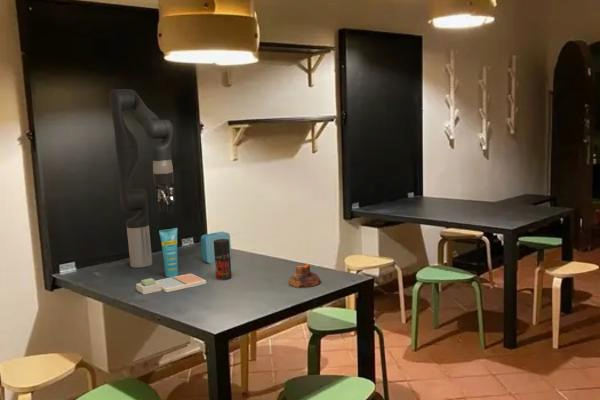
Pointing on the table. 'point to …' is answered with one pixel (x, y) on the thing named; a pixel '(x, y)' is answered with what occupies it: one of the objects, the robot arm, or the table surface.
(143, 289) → the button frame
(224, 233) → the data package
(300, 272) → the bell
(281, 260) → the table surface
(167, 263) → the tube
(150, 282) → the button
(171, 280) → the picture card
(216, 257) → the deodorant
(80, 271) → the table surface
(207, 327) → the table surface
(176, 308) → the table surface
